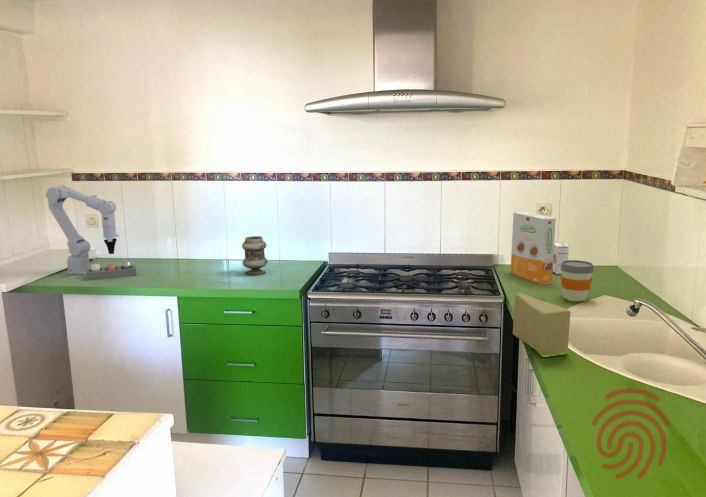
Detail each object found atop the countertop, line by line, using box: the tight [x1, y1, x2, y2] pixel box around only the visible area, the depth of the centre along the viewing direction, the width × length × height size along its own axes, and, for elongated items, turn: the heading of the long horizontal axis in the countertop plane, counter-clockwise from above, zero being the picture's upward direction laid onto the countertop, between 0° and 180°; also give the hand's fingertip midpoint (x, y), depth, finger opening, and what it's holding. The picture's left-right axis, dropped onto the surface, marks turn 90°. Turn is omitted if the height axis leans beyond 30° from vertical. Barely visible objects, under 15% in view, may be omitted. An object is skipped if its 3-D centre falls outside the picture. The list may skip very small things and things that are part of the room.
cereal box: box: [510, 211, 557, 285], centre depth 268 cm, size 22×6×30 cm, turn 20°
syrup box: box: [552, 242, 570, 275], centre depth 278 cm, size 6×6×14 cm
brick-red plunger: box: [106, 263, 116, 270], centre depth 281 cm, size 4×4×4 cm
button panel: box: [85, 264, 137, 281], centre depth 281 cm, size 9×22×4 cm, turn 113°
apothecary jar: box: [241, 235, 268, 277], centre depth 283 cm, size 12×12×18 cm
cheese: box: [512, 293, 571, 355], centre depth 186 cm, size 22×10×15 cm, turn 18°
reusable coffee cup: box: [560, 259, 594, 300], centre depth 237 cm, size 12×13×15 cm
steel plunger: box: [121, 260, 132, 269], centre depth 283 cm, size 4×4×4 cm
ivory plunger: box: [90, 263, 101, 272], centre depth 278 cm, size 4×4×4 cm
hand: (111, 253), depth 285 cm, fingers closed
